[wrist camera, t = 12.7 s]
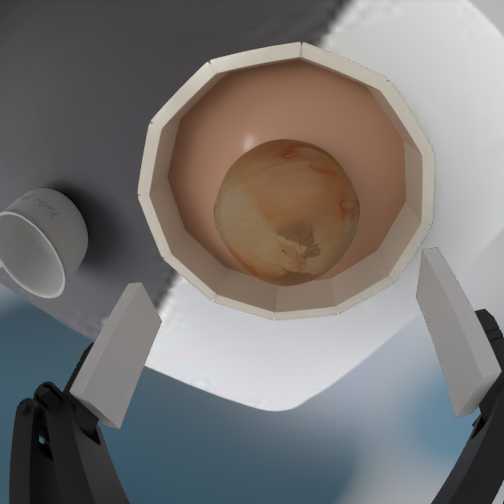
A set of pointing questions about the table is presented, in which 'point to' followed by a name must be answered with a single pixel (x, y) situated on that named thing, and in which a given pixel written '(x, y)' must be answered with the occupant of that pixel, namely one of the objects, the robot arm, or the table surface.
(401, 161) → the bowl
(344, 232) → the onion
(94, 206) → the table surface
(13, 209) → the teacup
